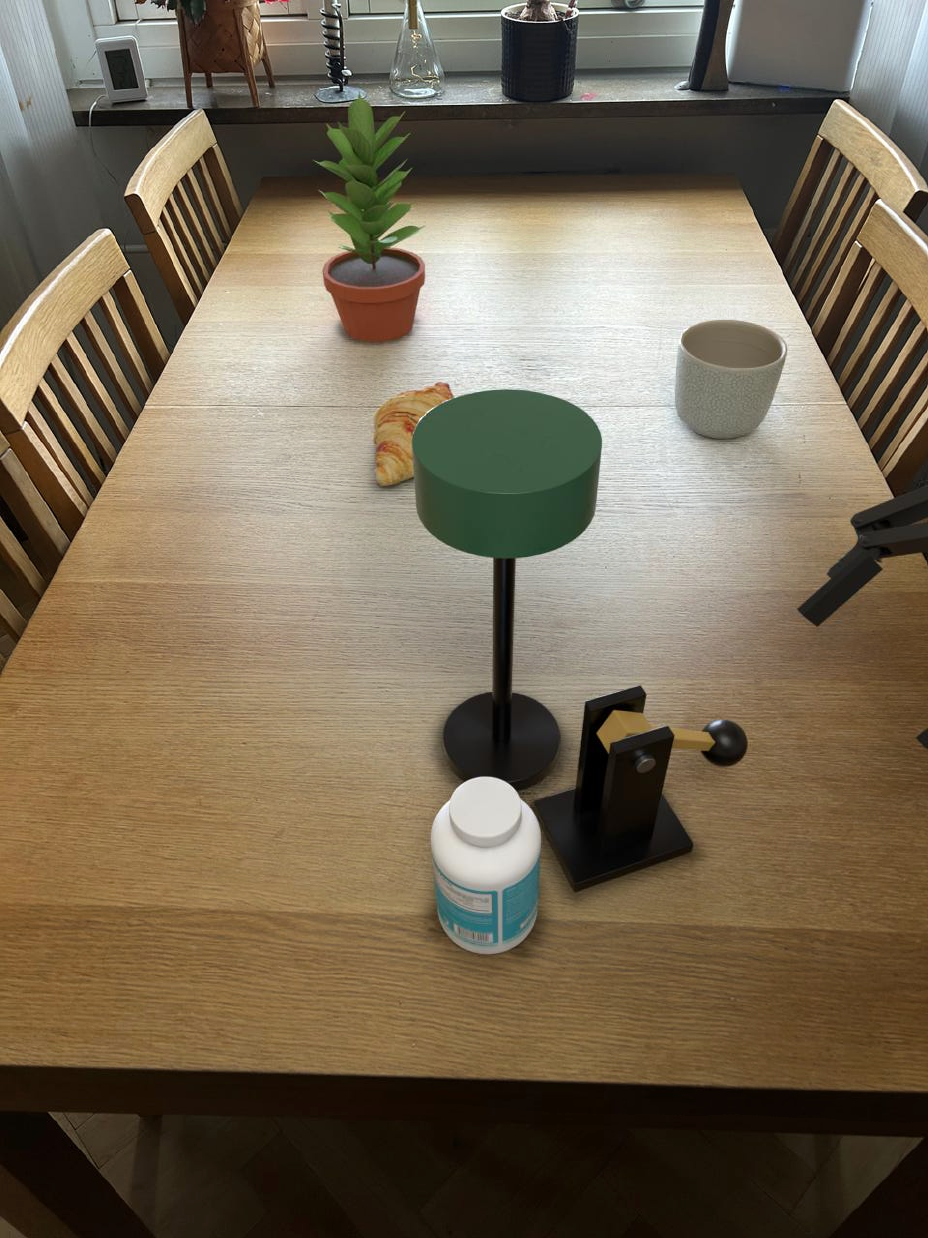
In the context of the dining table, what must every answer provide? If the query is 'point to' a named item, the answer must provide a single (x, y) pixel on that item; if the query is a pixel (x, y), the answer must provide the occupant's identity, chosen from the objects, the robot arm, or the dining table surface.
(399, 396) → the croissant
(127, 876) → the dining table surface
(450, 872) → the pill bottle
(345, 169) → the potted plant
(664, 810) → the switch bracket
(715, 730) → the lamp switch
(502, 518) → the desk lamp
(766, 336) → the planter
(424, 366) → the dining table surface
